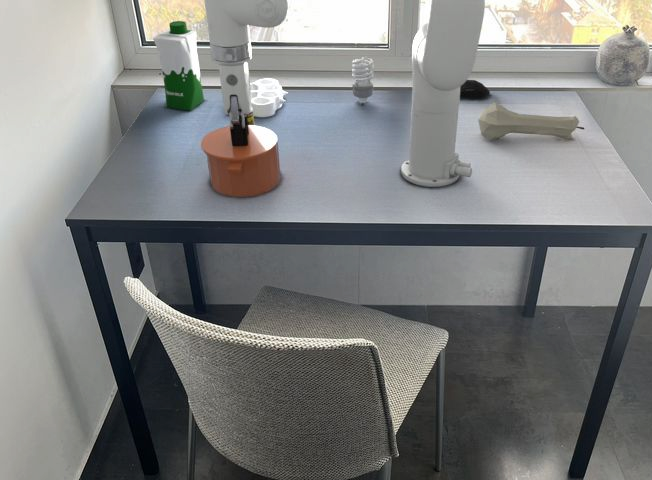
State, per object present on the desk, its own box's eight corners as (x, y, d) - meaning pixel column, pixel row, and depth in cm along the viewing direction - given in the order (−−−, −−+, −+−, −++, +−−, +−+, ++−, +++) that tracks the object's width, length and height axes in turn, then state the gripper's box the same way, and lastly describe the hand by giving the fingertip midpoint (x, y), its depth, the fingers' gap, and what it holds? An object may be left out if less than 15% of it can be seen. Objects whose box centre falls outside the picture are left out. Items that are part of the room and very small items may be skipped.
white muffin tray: (235, 90, 185) (290, 90, 185) (226, 117, 170) (285, 117, 170) (234, 78, 183) (289, 78, 183) (225, 105, 168) (284, 104, 168)
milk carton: (209, 99, 179) (198, 22, 168) (191, 113, 173) (179, 33, 161) (179, 95, 182) (167, 19, 170) (161, 108, 175) (147, 29, 163)
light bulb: (360, 109, 174) (360, 63, 167) (347, 102, 178) (347, 56, 171) (377, 104, 177) (378, 58, 170) (365, 97, 181) (365, 52, 174)
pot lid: (281, 130, 146) (279, 105, 142) (273, 163, 133) (271, 137, 130) (209, 129, 146) (205, 104, 143) (194, 163, 133) (190, 136, 130)
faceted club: (472, 124, 164) (575, 129, 165) (476, 149, 159) (582, 153, 160) (479, 95, 157) (586, 99, 158) (483, 119, 152) (594, 124, 153)
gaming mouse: (434, 88, 186) (435, 74, 183) (489, 91, 184) (490, 77, 182) (432, 97, 181) (433, 82, 178) (489, 100, 179) (491, 86, 177)
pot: (284, 158, 152) (282, 123, 147) (273, 204, 136) (270, 166, 131) (220, 158, 152) (216, 122, 147) (202, 203, 136) (196, 165, 131)
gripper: (249, 65, 122) (258, 158, 133) (252, 36, 135) (260, 122, 146) (207, 66, 121) (219, 160, 132) (214, 37, 135) (224, 124, 145)
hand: (240, 139), depth 139 cm, fingers open, 4 cm apart
